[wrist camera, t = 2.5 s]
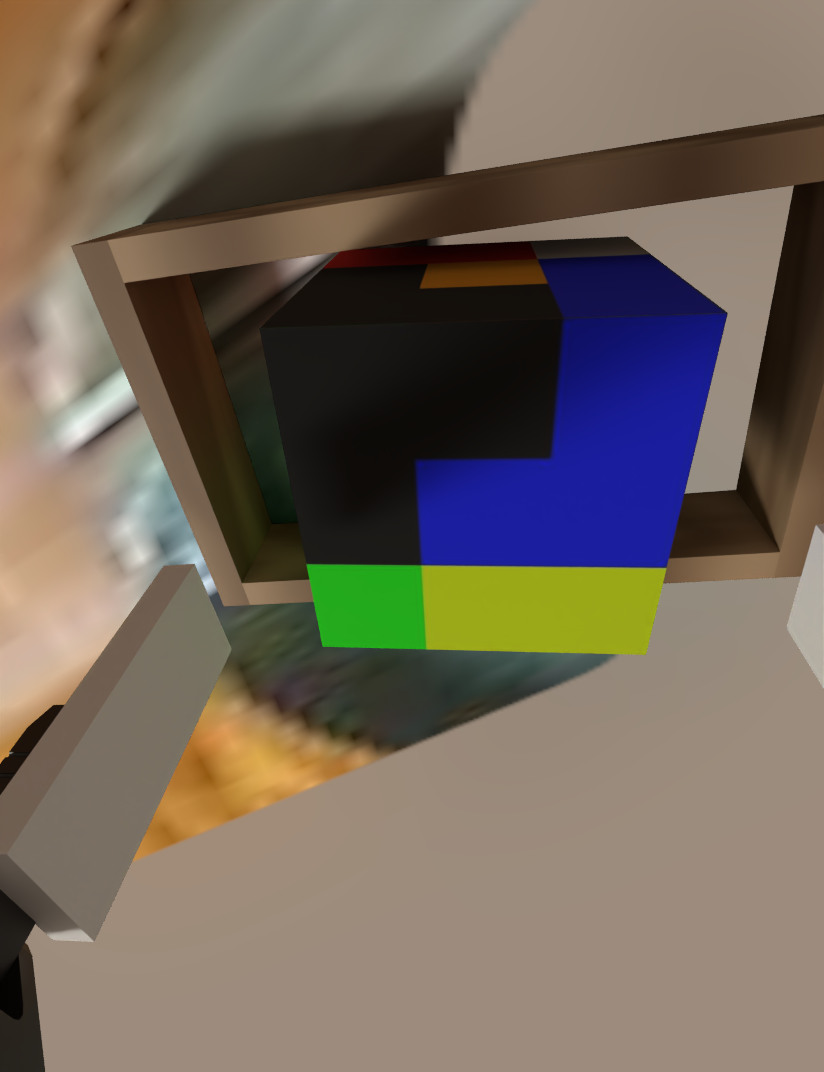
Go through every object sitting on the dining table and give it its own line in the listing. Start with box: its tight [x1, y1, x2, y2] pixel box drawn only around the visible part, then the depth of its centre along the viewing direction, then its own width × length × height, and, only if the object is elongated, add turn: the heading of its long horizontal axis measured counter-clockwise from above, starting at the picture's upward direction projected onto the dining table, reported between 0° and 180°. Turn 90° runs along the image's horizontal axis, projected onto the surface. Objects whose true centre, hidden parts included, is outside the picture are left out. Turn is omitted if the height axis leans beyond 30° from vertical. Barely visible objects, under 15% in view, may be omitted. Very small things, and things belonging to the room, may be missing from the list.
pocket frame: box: [71, 114, 824, 606], centre depth 22 cm, size 23×14×4 cm, turn 98°
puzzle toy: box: [260, 236, 727, 655], centre depth 20 cm, size 10×10×10 cm
